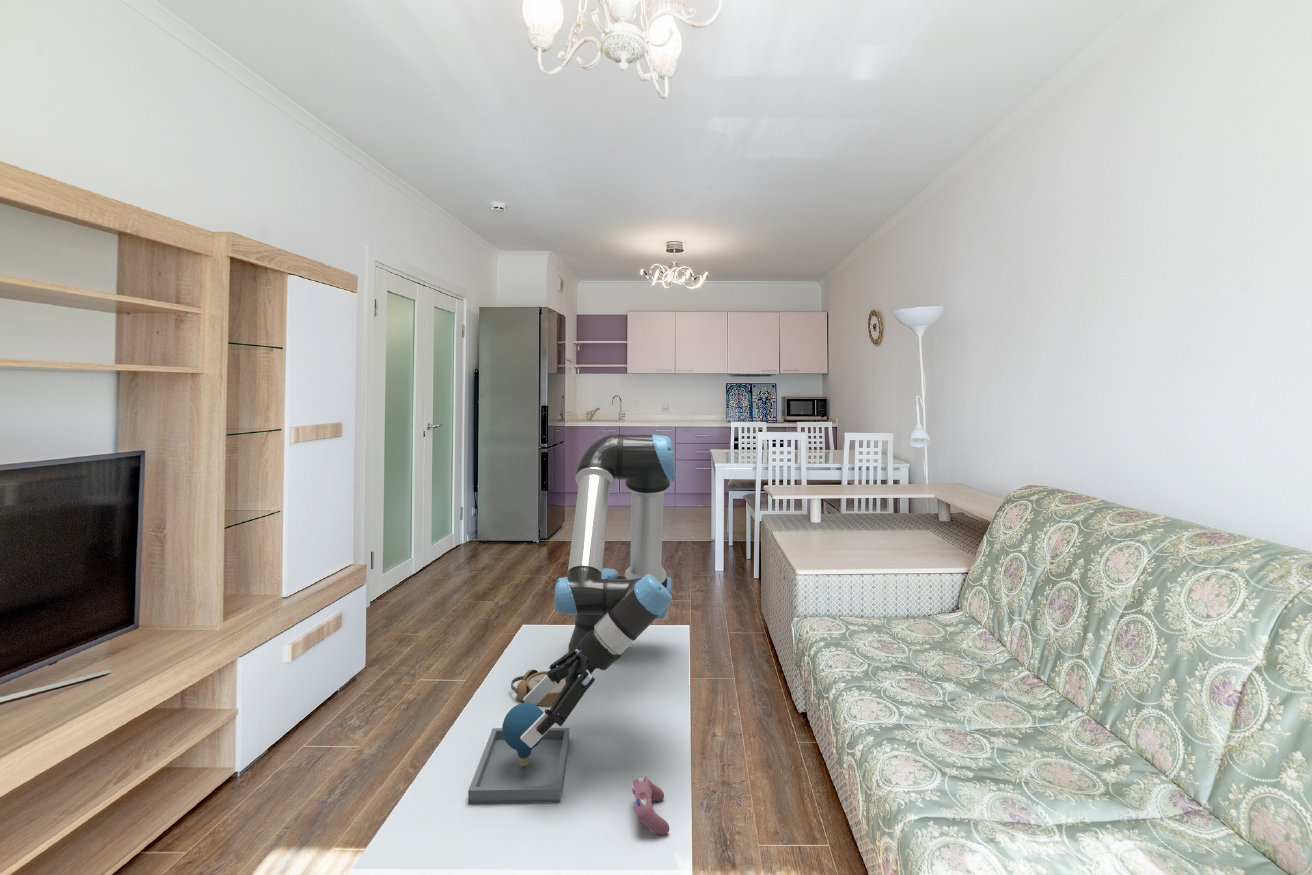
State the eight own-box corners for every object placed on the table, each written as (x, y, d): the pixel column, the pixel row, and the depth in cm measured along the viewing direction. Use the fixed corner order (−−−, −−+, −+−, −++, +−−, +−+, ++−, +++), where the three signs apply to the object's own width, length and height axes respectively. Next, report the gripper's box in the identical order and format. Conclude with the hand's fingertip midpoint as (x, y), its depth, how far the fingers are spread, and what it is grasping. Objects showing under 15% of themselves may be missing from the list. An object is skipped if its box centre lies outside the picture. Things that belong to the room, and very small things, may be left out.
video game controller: (643, 806, 108) (626, 774, 108) (665, 794, 109) (649, 762, 108) (647, 847, 99) (629, 811, 98) (672, 834, 99) (654, 798, 98)
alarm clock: (567, 697, 139) (505, 681, 140) (563, 716, 139) (502, 701, 140) (578, 675, 150) (521, 660, 151) (574, 693, 150) (517, 679, 152)
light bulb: (536, 781, 111) (536, 718, 110) (494, 775, 113) (494, 713, 112) (552, 756, 119) (553, 697, 119) (513, 751, 121) (514, 692, 120)
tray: (492, 739, 126) (492, 728, 125) (569, 738, 126) (569, 727, 126) (468, 803, 106) (468, 790, 105) (559, 802, 107) (559, 789, 106)
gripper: (627, 685, 105) (540, 774, 104) (612, 629, 130) (541, 700, 128) (597, 657, 104) (508, 747, 102) (587, 606, 128) (515, 678, 127)
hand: (526, 721), depth 115 cm, fingers open, 13 cm apart
